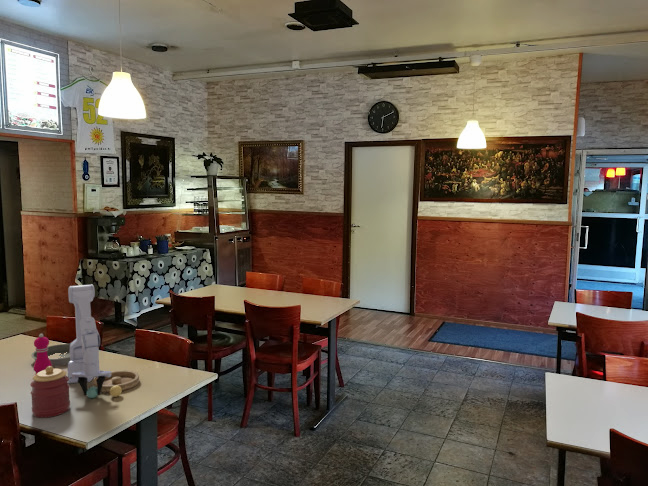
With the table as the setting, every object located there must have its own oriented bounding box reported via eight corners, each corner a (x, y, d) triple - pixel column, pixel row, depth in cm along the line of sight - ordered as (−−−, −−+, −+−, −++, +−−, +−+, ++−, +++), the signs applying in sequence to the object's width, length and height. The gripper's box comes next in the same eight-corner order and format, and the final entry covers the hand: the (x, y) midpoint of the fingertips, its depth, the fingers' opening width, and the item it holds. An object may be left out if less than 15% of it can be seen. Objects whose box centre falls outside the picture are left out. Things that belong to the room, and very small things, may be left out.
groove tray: (87, 393, 206) (87, 387, 205) (100, 377, 224) (100, 371, 223) (133, 391, 208) (133, 385, 208) (142, 375, 227) (142, 369, 226)
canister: (61, 400, 199) (59, 358, 197) (76, 409, 190) (74, 365, 189) (26, 411, 189) (23, 366, 187) (40, 421, 180) (37, 375, 179)
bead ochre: (108, 399, 201) (108, 388, 200) (111, 394, 205) (111, 383, 205) (120, 398, 201) (120, 387, 201) (123, 393, 206) (122, 383, 205)
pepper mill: (55, 374, 227) (53, 331, 225) (45, 379, 220) (43, 336, 218) (41, 373, 228) (39, 331, 226) (30, 379, 221) (28, 335, 219)
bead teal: (85, 400, 199) (84, 389, 199) (88, 395, 204) (88, 385, 203) (97, 399, 200) (96, 388, 199) (100, 395, 204) (99, 384, 204)
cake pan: (20, 362, 242) (20, 353, 242) (67, 349, 264) (66, 340, 264) (52, 371, 231) (51, 362, 231) (97, 356, 253) (97, 348, 252)
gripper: (68, 366, 195) (70, 399, 197) (107, 364, 198) (108, 397, 199) (74, 360, 202) (76, 392, 203) (112, 358, 204) (113, 390, 206)
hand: (92, 394), depth 202 cm, fingers closed on bead teal, 5 cm apart
